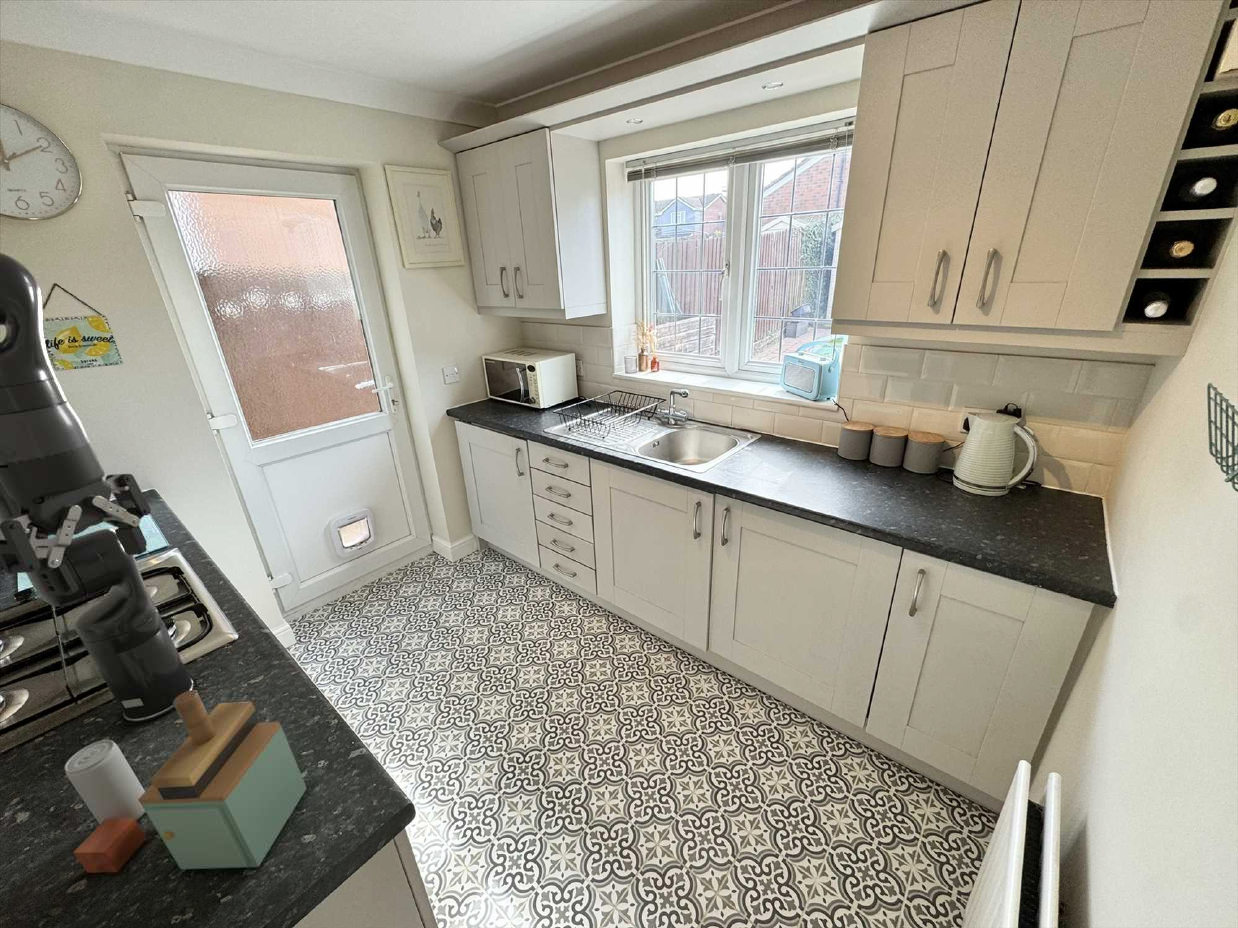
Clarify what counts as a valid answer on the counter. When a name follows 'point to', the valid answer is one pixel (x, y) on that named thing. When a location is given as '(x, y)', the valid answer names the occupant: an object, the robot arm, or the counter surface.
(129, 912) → the counter surface
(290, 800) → the cupboard
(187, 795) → the brush
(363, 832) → the counter surface
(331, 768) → the counter surface
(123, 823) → the terracotta block
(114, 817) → the beverage can
